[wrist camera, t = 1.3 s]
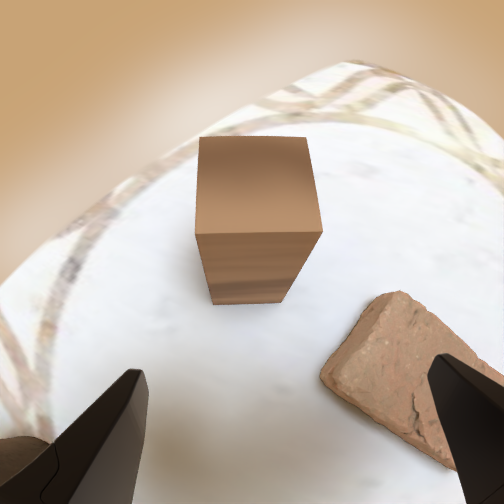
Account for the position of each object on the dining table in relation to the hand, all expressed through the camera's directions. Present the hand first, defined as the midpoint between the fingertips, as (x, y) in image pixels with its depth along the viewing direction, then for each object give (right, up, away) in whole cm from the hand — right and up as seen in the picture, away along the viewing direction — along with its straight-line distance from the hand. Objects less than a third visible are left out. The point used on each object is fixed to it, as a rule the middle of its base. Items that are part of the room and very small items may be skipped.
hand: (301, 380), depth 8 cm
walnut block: (-2, +2, +16) cm, 16 cm away
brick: (+12, -8, +13) cm, 19 cm away
